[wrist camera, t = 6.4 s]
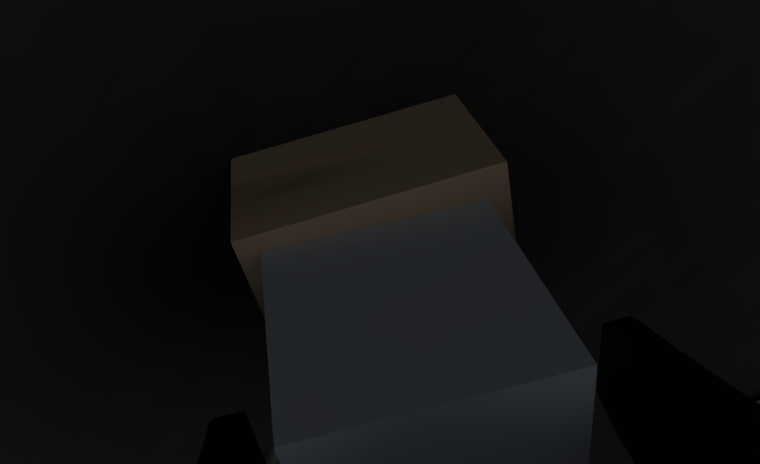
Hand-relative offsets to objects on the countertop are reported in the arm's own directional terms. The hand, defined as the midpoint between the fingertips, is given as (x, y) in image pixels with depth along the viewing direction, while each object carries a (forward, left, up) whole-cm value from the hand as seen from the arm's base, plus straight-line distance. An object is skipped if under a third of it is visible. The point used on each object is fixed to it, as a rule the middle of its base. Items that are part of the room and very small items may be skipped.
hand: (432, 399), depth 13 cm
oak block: (0, 0, -7) cm, 7 cm away
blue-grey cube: (0, 0, -3) cm, 3 cm away
